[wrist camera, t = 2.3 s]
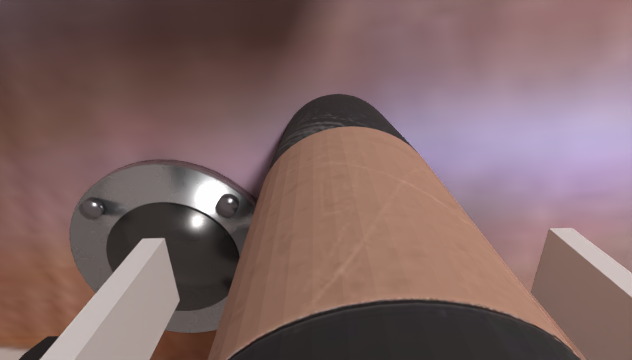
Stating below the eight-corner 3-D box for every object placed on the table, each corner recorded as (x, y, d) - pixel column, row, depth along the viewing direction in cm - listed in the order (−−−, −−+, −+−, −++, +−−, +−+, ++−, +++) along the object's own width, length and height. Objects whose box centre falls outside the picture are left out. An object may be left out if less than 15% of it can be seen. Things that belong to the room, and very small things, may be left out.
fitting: (48, 162, 23) (-29, 201, 18) (366, 154, 22) (381, 190, 17) (110, 324, 29) (66, 388, 24) (360, 319, 29) (370, 382, 24)
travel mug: (289, 204, 24) (207, 751, 6) (269, 97, 21) (-43, 559, 3) (396, 191, 24) (665, 739, 5) (392, 80, 21) (988, 492, 2)
